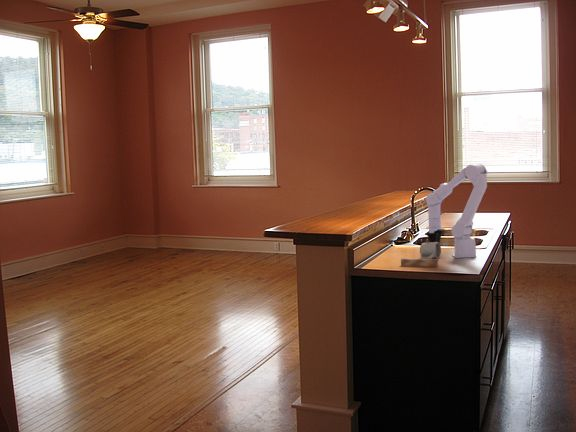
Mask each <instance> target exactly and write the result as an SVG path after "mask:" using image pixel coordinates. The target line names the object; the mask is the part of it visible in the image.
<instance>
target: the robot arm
mask: <svg viewBox="0 0 576 432" xmlns="http://www.w3.org/2000/svg"><path fill="white" fill-rule="evenodd" d="M487 175H488V171H487V169H486V166H485V165H484V164H482V163H477V164H469V165H467V166H466V167H463V169H462V170H461V171H459V172H458V173H457V174H456V175H455V176H454V177H453V178H452V179H451V180H450V181H449V182H444V183H441V184H439V187H438V188H437V189H434V190H433V191H432V192H431V193H428V194H427V196H426V197H425V203H426V204H427V206H428V207H427V209H428V210H427V211H428V212H427V214H428V226H426V229H427V230H428V232H426V237H428V241H429V242H439V243H440V244H441V239H442V235H443V233H444V229H442V222H441V221H442V220H441V219H442V218H441V215H442V214H441V204H442V203H443V201H444V199H446V198H447V197H449V195H451V194H452V193H453V189H454V188H456V187H457V186H458V185H459V184H461V183H462V182H463V181H465V180H467V179H468V180H469V181H470V182H471V184H472V185H473V188H472V191H471V193H470V196H469V197H468V199H467V202H466V205H465V207H464V209H463V212H462V214H461V216H460V217H459V218H458V219H457V221H456V223H455V224H454V225H452V227H451V235H452V236H453V240H454V241H453V244H454V245H453V246H454V253H453V254H451V256H452V257H454V258H456V259H459V258H463V259H464V258H477V252H476V251H477V247H476V239H475V238H474V237H471V235H472V233H473V226H474V222H473V220H474V218H475V215H476V213H477V211H478V208H479V206H480V204H481V201H482V200H483V196H484V194H485V193H486V190H487V188H488V178H487Z"/></svg>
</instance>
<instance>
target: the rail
mask: <svg viewBox="0 0 576 432" xmlns="http://www.w3.org/2000/svg"><path fill="white" fill-rule="evenodd" d="M438 259H439V258H438ZM438 259H436V258H431V259H421V258H405V257H404V258H403V257H402V258H401V259H400V266H403V267H426V268H427V267H429V268H431V267H432V268H435V267H436V268H437V267H439V260H438Z"/></svg>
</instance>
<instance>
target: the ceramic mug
mask: <svg viewBox="0 0 576 432" xmlns="http://www.w3.org/2000/svg"><path fill="white" fill-rule="evenodd" d="M419 253H420V259H440V257H441V255H442V247H441V242H440V243H439V242H430V241H429V242H422V243H421V245H420V247H419Z"/></svg>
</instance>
